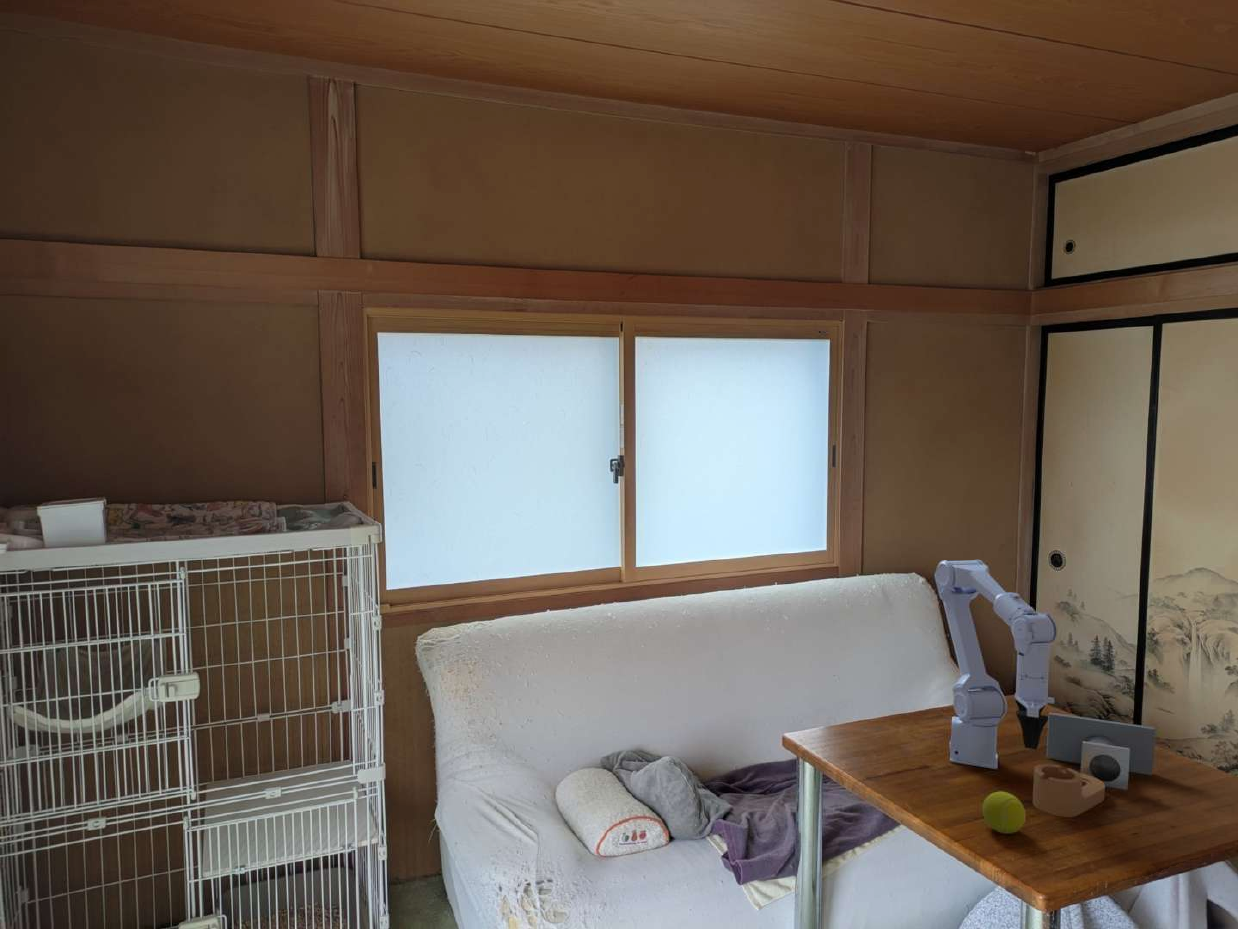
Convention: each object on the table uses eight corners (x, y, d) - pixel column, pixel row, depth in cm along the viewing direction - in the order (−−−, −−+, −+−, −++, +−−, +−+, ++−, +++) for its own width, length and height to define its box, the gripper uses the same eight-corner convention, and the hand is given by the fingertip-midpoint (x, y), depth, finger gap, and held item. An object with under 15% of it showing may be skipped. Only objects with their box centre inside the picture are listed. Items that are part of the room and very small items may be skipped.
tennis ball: (1032, 837, 153) (1034, 799, 152) (1002, 843, 150) (1004, 805, 150) (1002, 819, 159) (1004, 783, 159) (973, 825, 157) (975, 788, 156)
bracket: (1067, 822, 159) (1069, 786, 158) (1024, 805, 166) (1026, 770, 165) (1111, 797, 170) (1113, 763, 169) (1069, 781, 176) (1071, 749, 176)
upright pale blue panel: (1049, 777, 178) (1051, 730, 177) (1046, 756, 189) (1048, 712, 188) (1160, 796, 170) (1163, 747, 169) (1151, 773, 180) (1154, 727, 180)
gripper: (1057, 687, 160) (1054, 757, 161) (1052, 667, 174) (1050, 732, 174) (1016, 682, 163) (1013, 751, 164) (1014, 663, 177) (1012, 727, 177)
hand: (1030, 741), depth 169 cm, fingers open, 7 cm apart
